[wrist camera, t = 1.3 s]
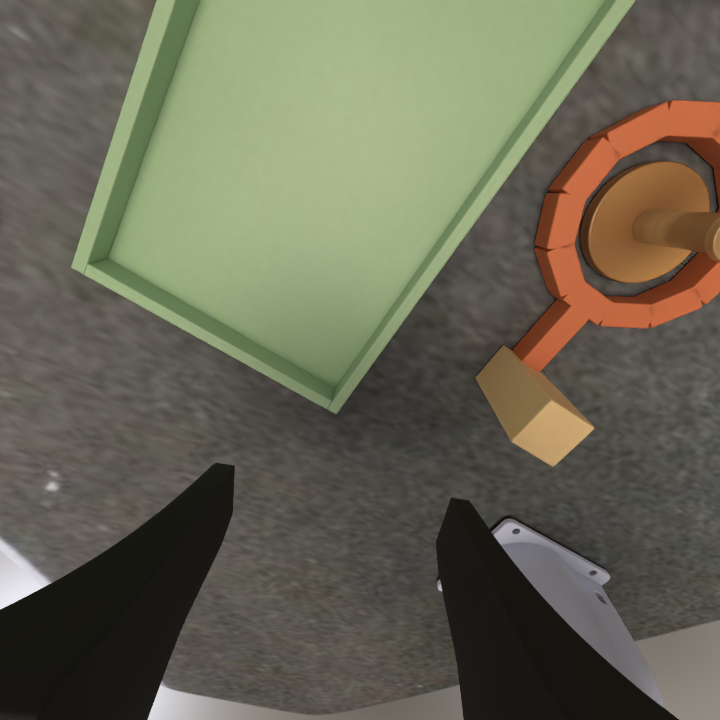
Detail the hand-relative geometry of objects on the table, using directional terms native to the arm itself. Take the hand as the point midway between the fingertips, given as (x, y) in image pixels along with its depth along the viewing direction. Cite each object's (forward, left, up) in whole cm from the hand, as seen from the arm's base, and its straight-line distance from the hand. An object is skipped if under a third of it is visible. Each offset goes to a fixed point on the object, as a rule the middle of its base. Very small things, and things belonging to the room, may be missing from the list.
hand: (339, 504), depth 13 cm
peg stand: (-7, -14, -10) cm, 18 cm away
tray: (+7, -9, -10) cm, 15 cm away
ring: (-7, -11, -10) cm, 16 cm away
